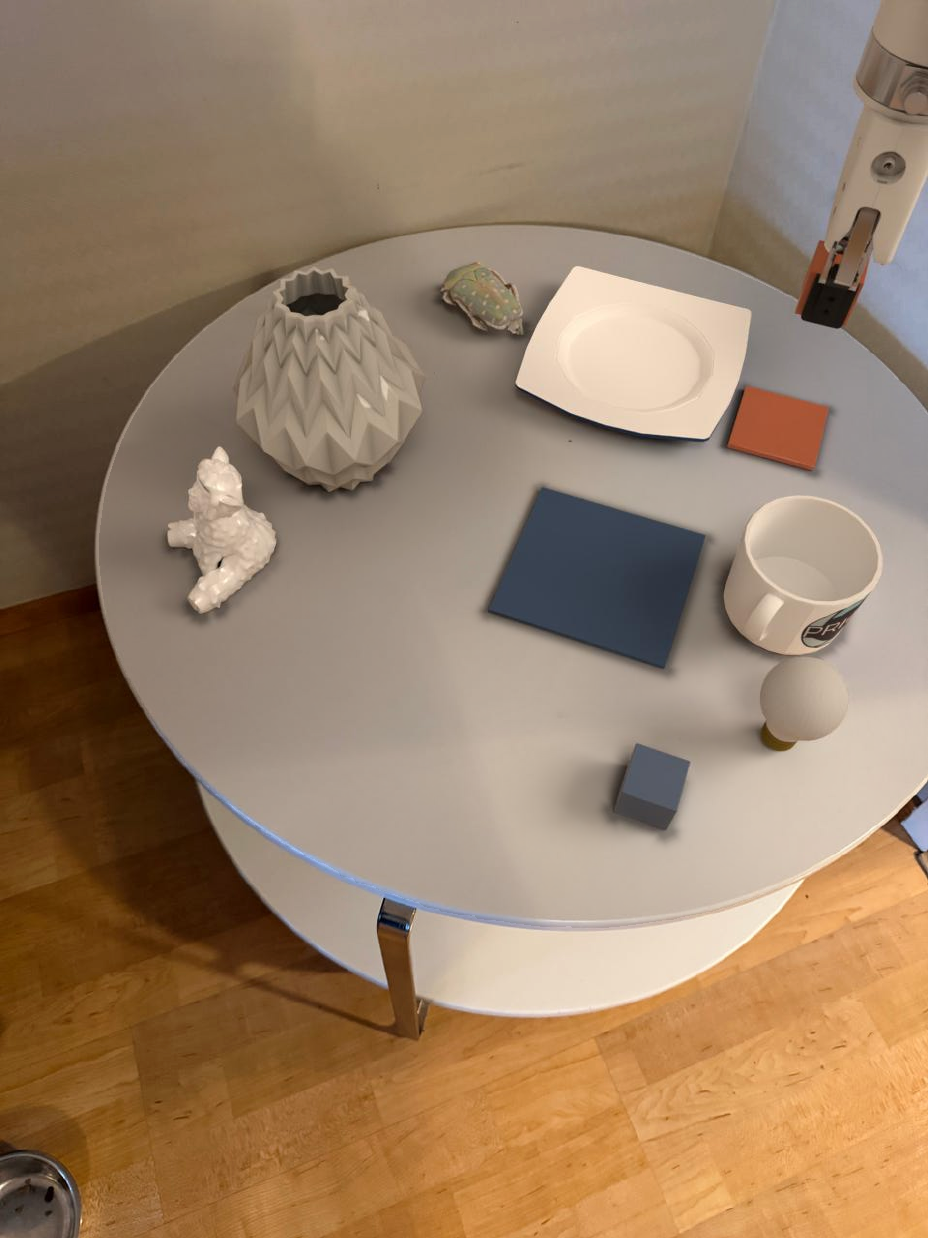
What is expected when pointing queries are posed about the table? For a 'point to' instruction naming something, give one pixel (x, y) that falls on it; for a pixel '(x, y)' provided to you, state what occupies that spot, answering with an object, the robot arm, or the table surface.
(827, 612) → the mug
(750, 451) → the terracotta tile
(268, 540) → the sitting furry creature
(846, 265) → the robot arm
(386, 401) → the vase
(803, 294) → the terracotta block
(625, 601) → the navy blue mat
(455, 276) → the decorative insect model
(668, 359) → the plate
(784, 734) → the light bulb
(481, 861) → the table surface
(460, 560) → the table surface
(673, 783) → the slate block
